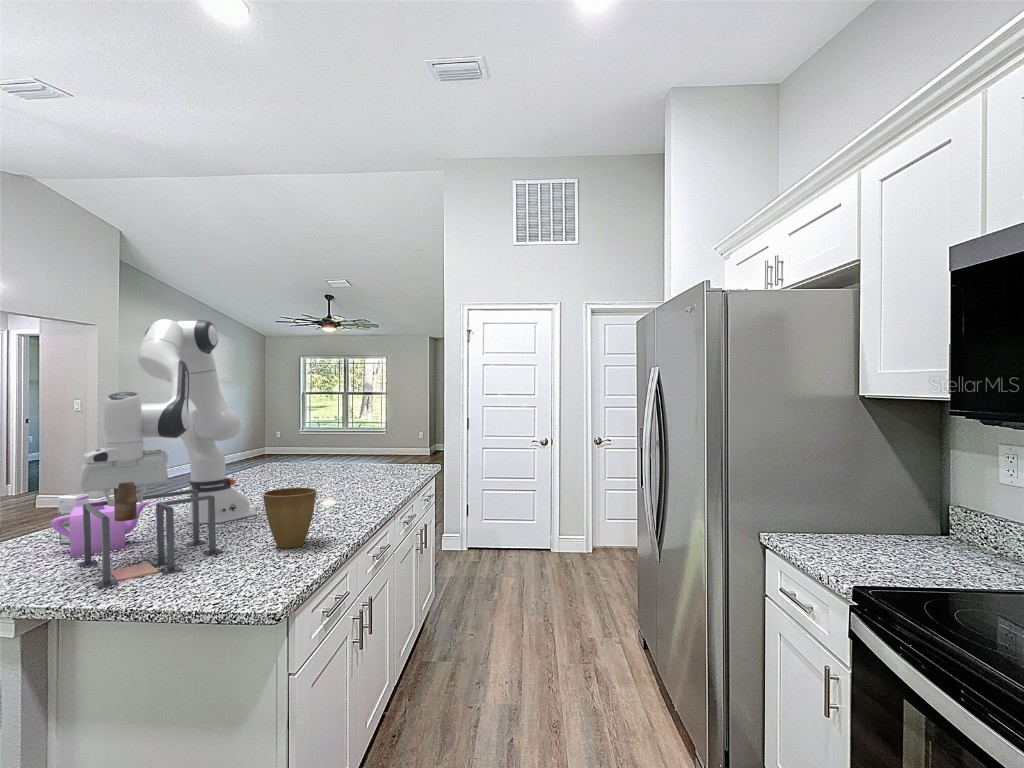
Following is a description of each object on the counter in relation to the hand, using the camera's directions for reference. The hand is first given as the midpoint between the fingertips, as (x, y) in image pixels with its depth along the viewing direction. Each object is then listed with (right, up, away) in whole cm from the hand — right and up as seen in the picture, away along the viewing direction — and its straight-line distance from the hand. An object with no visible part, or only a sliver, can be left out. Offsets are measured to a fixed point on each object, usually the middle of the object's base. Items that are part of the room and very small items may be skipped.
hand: (125, 503), depth 161 cm
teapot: (-18, -17, +17) cm, 30 cm away
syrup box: (-31, -17, +24) cm, 43 cm away
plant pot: (+39, -16, +16) cm, 45 cm away
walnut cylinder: (0, -4, 0) cm, 4 cm away
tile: (+7, -16, -7) cm, 19 cm away
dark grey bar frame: (+8, -16, +1) cm, 18 cm away
